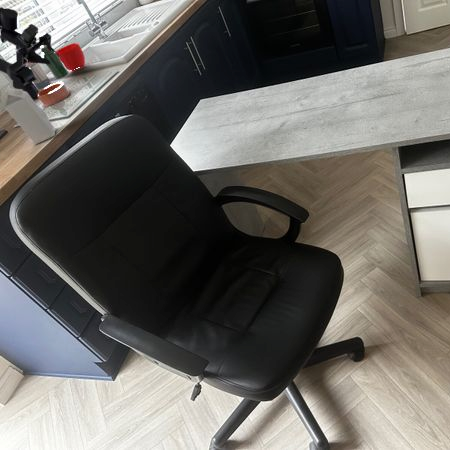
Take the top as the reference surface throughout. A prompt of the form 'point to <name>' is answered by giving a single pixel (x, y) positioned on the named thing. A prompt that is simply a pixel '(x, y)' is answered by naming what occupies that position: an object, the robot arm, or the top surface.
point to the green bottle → (54, 62)
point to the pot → (53, 94)
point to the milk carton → (28, 115)
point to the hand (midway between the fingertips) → (54, 59)
